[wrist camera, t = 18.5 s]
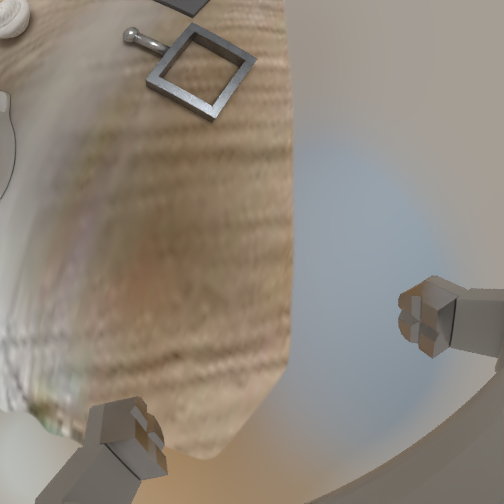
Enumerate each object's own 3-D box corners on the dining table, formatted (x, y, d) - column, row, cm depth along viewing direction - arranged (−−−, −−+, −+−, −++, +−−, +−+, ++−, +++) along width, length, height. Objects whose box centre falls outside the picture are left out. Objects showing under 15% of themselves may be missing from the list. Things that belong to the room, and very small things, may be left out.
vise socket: (103, 65, 27) (99, 57, 25) (147, 12, 26) (147, 2, 24) (212, 122, 32) (215, 118, 30) (251, 66, 32) (257, 59, 29)
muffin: (21, 6, 20) (3, -16, 13) (46, 14, 22) (29, -10, 15) (-6, 41, 20) (-28, 24, 14) (17, 51, 22) (-5, 32, 16)
